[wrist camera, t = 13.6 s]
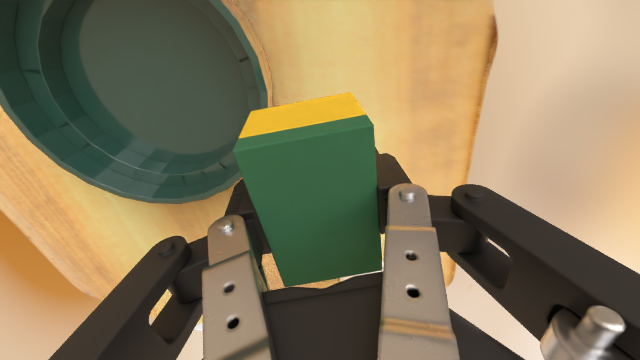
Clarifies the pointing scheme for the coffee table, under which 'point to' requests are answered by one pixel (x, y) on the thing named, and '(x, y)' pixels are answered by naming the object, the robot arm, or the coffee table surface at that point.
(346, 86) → the coffee table surface
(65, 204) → the coffee table surface
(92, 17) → the bowl
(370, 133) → the sponge
